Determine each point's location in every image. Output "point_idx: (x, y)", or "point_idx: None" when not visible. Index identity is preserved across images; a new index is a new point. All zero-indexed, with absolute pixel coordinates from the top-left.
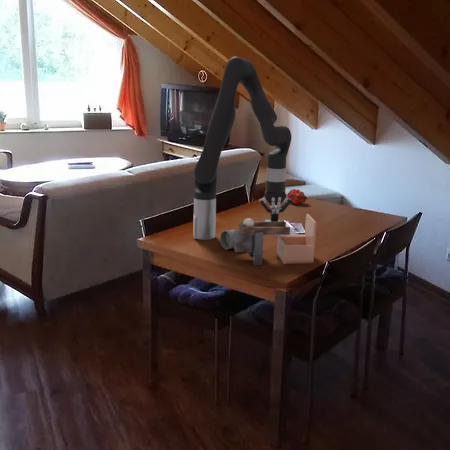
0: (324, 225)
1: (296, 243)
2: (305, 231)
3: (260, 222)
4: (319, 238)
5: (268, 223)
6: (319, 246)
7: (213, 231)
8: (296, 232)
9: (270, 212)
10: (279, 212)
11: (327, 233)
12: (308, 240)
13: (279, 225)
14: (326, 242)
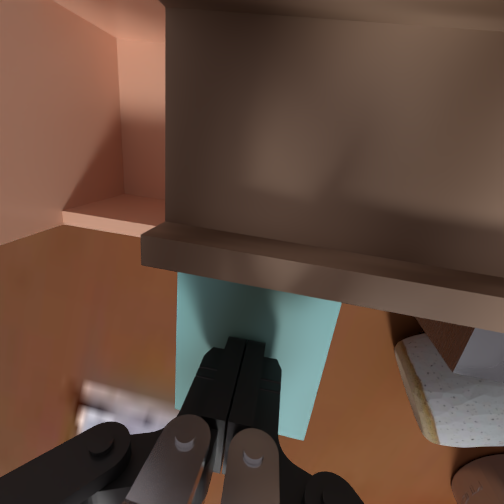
0: (9, 445)
1: (141, 209)
2: (29, 219)
3: (500, 297)
4: (37, 346)
5: (372, 269)
6: (48, 265)
7: (500, 497)
8: (110, 420)
9: (292, 471)
10: (154, 437)
11: (5, 382)
12: (48, 115)
13: (232, 234)
14: (16, 301)
